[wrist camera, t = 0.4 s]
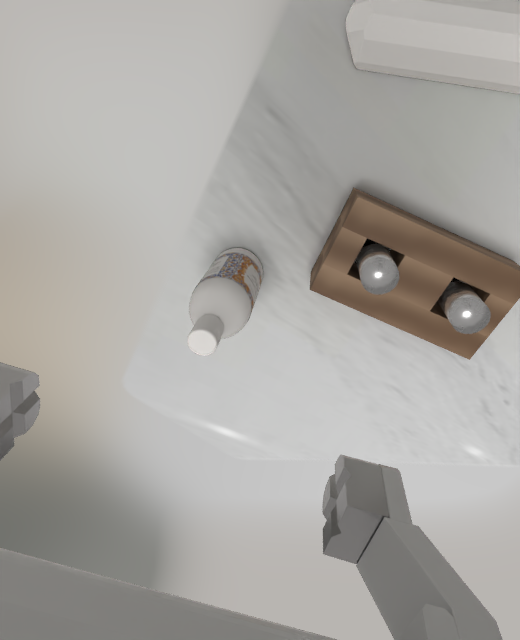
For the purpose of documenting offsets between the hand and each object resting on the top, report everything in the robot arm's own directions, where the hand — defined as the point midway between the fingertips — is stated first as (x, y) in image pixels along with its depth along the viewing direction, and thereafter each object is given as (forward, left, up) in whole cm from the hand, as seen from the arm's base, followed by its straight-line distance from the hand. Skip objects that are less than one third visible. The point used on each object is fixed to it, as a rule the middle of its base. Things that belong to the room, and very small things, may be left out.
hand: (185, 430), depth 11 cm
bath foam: (+14, -2, -45) cm, 47 cm away
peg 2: (+4, +24, -40) cm, 47 cm away
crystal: (-19, +10, -45) cm, 50 cm away
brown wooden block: (+4, +18, -44) cm, 48 cm away
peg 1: (+4, +13, -40) cm, 42 cm away
